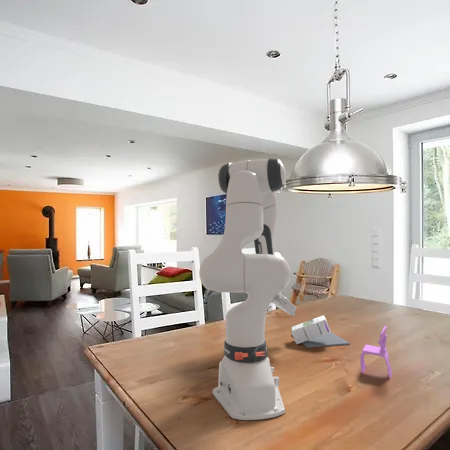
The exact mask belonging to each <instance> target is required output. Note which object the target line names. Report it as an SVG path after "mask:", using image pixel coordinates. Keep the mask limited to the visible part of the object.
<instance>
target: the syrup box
mask: <svg viewBox="0 0 450 450" xmlns="http://www.w3.org/2000/svg"><path fill="white" fill-rule="evenodd" d="M290 330H291V334H292V335H293V336H292V337H293V340H294V342H295V344H296V345H299V344H302V342H305V341H308V340H311V339H314V338H316V337H319V336H322V335H325V334H327V333H330V332H332V331H331V327H330V325H329V323H328V321H327V318H326V317H325V315H320V316H318V317H315V318H312V319H309V320H306V321H304V322H301V323H298V324H295V325H293V326H291V327H290Z"/></svg>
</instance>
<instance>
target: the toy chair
mask: <svg viewBox="0 0 450 450" xmlns="http://www.w3.org/2000/svg"><path fill="white" fill-rule="evenodd" d="M387 329H388V326H387V325H384V327H383V328H382V330H381V333H380V335H379V338H378V339H379V340H378V342H377V343H378V345H379V346H375V345H370V344H365V345H364V347H363V348H362V350H361V351H362V352H361V354H360V359H359V360H360V371H361V372H360V373H361V374H364V373H365V370H366V369H367V365H366V363H365V355H373V356H378V357H382V358H383V359H384V360H385V364H386V367H387V368H386V369H387V373H388V379H391V378H392V375H393V370H392V367H391V363H390V355H389V352H388V350H387V349H388V348H387V347H386V346H387V345H386V343H387V338H388V334H386V331H387Z"/></svg>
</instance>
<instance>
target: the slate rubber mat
mask: <svg viewBox="0 0 450 450" xmlns="http://www.w3.org/2000/svg"><path fill="white" fill-rule="evenodd" d="M291 337H293V335H292V333H291ZM301 345H303V346H304V347H305V348H306V349H309V348H311V349H312V348H323V347H324V348H325V347H336V346H348V345H350V342H349V341H347V340H346V339H344V338H342V337H340V336H339V335H337V334H335V333H334V332H332V331H331V332H330V333H327V334H325V335H322V336H319V337H316V338H314V339H311V340H308V341H305V342H302V343H301Z"/></svg>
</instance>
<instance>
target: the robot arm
mask: <svg viewBox="0 0 450 450" xmlns="http://www.w3.org/2000/svg"><path fill="white" fill-rule="evenodd" d="M286 177H287V171H286V167H285V166H284V163H283V162H282V161H281V160H280V159H278V158H273V157H272V158H267V159H247V160H246V159H245V160H240V161H237V162H228V163H225V164H224V165H222V166H220V169H219V171H218V185H219V188H220V190H221V191H222V193H224V194H226V202H225V220H224V221H225V222H224V223H225V225H224V232H223V235H222V237H221V240H220V242H219V244H218V246H217V247H216V248H215V249H214V250H213V251H212V252H211V253H210V254H208V255H207V256H206V257H205V258H204V259H203V261H202V262H201V264H200V267H199V272H198V273H199V278H200V283H201V284H202V285H203V287H204V288H205V289H206V290H208V291H209V290H210V291H213V292H216V293H217V292H219V293H244V294H247V298H246V299H245V300H244V301H243V302H240V303H238V304H236V305H233V306H232V307H231V308H230V309H229V310H228V311H227V312H226V314H225V340H224V342H223V343H224V345H223V352H224V353H223V354H224V356H223V358H222V360H220V362H218V386H216V387H215V388H213V389H212V395H213V396H214V398H215V399H216V400H217V401H218V403H219V404H220V405H221V407H223V408H224V410H225V412H226V413H227V414H228V416H229V417H231V418H232V419H235V420H239V421H240V420H241V421H256V420H266V419H267V420H268V419H273V418H276V417H279V416H281V415H283V414H285V413H286V410H285V405H284V402H283V399H282V396H281V392H280V389H279V386H280V378H279V376H273V375H274V374H273V373H274V372H275V367H274V366H271V364H270V358H269V357H268V346H267V341H266V340H265V339H266V338H265V337H266V336H265V333H266V332H265V331H266V328H265V327H266V317H267V312H268V309H269V307H270V305H271V304H273V305H274V306H276V307H277V308H279V309H281V310H282V311H284V312H285V313H286V314H288V315H290V316H291V317H294V316H295V315H296V310H297V307H296V306H295V304H293V303H292V302H291V301H290V300H289V299H288V298H287V297H286V296H284V295H283V294H282V292H283V291H284V290H285V289H286V288H287V286H288V285H289V284H290V281H291V275H292V272H291V267H290V265H289V263H288V261H287V259H285V257H284V256H283V255H282V254H281V253H279V252H278V251H274V237H275V236H274V235H275V231H276V228H277V223H278V218H279V203H278V199H277V198H278V196H277V193H276V192H277V191H280V190H282V189H283V187H284V186H285V183H286V179H287V178H286ZM252 242H253V243H254V251H255V252H254V253H243V252H242V250H243V248H244V247H245V246H246V245H248V244H250V243H252Z"/></svg>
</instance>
